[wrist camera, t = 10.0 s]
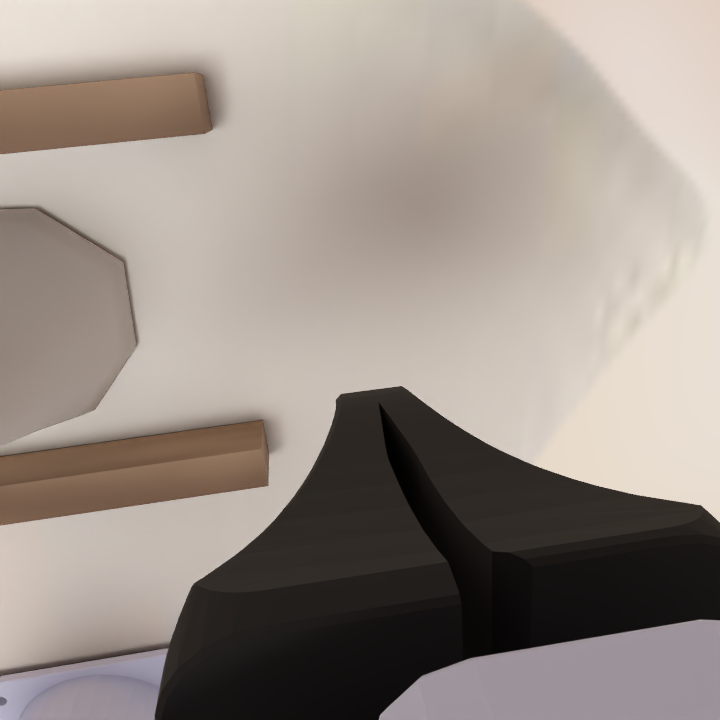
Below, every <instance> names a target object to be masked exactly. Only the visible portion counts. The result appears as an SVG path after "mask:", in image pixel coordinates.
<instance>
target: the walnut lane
mask: <svg viewBox="0 0 720 720" xmlns="http://www.w3.org/2000/svg"><path fill="white" fill-rule="evenodd" d="M211 130H212V126H211V121H210V115H209V109H208V103H207V98H206V92H205V86H204V80H203V75H201V74H197V73H184V74H173V75H162V76H151V77H140V78H129V79H119V80H108V81H97V82H86V83H75V84H64V85H54V86H43V87H32V88H21V89H10V90H0V154H7V153H17V152H27V151H37V150H47V149H57V148H67V147H77V146H87V145H97V144H107V143H117V142H127V141H136V140H146V139H156V138H166V137H176V136H186V135H196V134H205V133H207V132H209V131H211ZM268 475H269V453H268V447H267V442H266V436H265V430H264V424H263V420H261V421H254V422H247V423H240V424H232V425H225V426H218V427H211V428H204V429H196V430H189V431H182V432H175V433H168V434H160V435H153V436H146V437H139V438H132V439H124V440H117V441H110V442H103V443H96V444H88V445H81V446H74V447H67V448H60V449H52V450H45V451H38V452H31V453H24V454H16V455H9V456H2V457H0V525H6V524H13V523H20V522H27V521H34V520H40V519H47V518H54V517H61V516H67V515H74V514H81V513H88V512H94V511H101V510H108V509H115V508H122V507H128V506H135V505H142V504H149V503H155V502H162V501H169V500H176V499H183V498H189V497H196V496H203V495H210V494H216V493H223V492H230V491H237V490H244V489H250V488H257V487H264V486H268Z"/></svg>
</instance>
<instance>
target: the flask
mask: <svg viewBox="0 0 720 720" xmlns="http://www.w3.org/2000/svg"><path fill="white" fill-rule="evenodd" d="M135 347H136V340H135V334H134V327H133V321H132V315H131V308H130V302H129V296H128V289H127V283H126V277H125V270H124V264H123V262H122V261H121V260H119V259H117V258H116V257H114V256H112V255H111V254H109V253H108V252H106V251H104V250H103V249H101V248H99V247H98V246H96V245H94V244H93V243H91V242H90V241H88V240H86V239H85V238H83V237H81V236H80V235H78V234H76V233H75V232H73V231H72V230H70V229H68V228H67V227H65V226H63V225H62V224H60V223H58V222H57V221H55V220H53V219H52V218H50V217H49V216H47V215H45V214H44V213H42V212H40V211H39V210H37V209H35V208H31V209H0V446H2V445H4V444H7V443H9V442H11V441H14V440H16V439H19V438H21V437H23V436H26V435H28V434H30V433H33V432H35V431H38V430H40V429H43V428H46V427H49V426H52V425H55V424H58V423H60V422H63V421H66V420H69V419H72V418H75V417H78V416H80V415H83V414H85V413H88V412H90V411H93V410H95V409H96V407H97V405H98V404H99V402H100V401H101V399H102V398H103V396H104V395H105V393H106V392H107V390H108V389H109V387H110V386H111V384H112V383H113V381H114V379H115V378H116V376H117V375H118V373H119V372H120V370H121V369H122V367H123V366H124V364H125V363H126V361H127V360H128V358H129V357H130V355H131V353H132V352H133V350H134V349H135Z"/></svg>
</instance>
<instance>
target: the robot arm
mask: <svg viewBox="0 0 720 720" xmlns="http://www.w3.org/2000/svg"><path fill="white" fill-rule="evenodd" d="M0 720H720V523H719V522H718V521H717V520H716V519H715V518H714V517H713V516H712V515H711V514H710V513H709V512H708V511H706V510H705V509H704V508H703V507H702V506H701V505H694V504H688V503H682V502H676V501H669V500H663V499H657V498H651V497H644V496H639V495H633V494H628V493H625V492H620V491H616V490H612V489H608V488H603V487H599V486H595V485H592V484H588V483H585V482H581V481H578V480H574V479H571V478H568V477H565V476H562V475H559V474H556V473H553V472H550V471H548V470H545V469H542V468H539V467H537V466H534V465H532V464H529V463H527V462H524V461H522V460H520V459H518V458H516V457H513V456H511V455H509V454H507V453H504V452H502V451H500V450H498V449H496V448H494V447H492V446H490V445H488V444H487V443H485V442H483V441H481V440H480V439H478V438H476V437H474V436H473V435H471V434H469V433H467V432H466V431H464V430H463V429H461V428H459V427H458V426H456V425H455V424H453V423H452V422H450V421H449V420H447V419H446V418H444V417H443V416H441V415H440V414H439V413H437V412H436V411H434V410H433V409H432V408H430V407H429V406H428V405H426V404H425V403H424V402H422V401H421V400H420V399H418V398H417V397H416V396H414V395H413V394H412V393H411V392H409V391H408V390H407V389H405V388H404V387H402V386H399V387H392V388H384V389H376V390H369V391H361V392H353V393H346V394H341V395H340V396H339V397H338V398H337V399H336V411H335V416H334V419H333V422H332V426H331V428H330V431H329V434H328V436H327V439H326V441H325V444H324V446H323V448H322V450H321V452H320V454H319V456H318V458H317V460H316V462H315V464H314V466H313V468H312V470H311V471H310V473H309V475H308V476H307V478H306V480H305V481H304V483H303V484H302V486H301V487H300V489H299V490H298V491H297V493H296V494H295V496H294V497H293V498H292V500H291V501H290V502H289V503H288V505H287V506H286V507H285V508H284V509H283V511H282V512H281V513H280V514H279V516H278V517H277V518H276V519H275V520H274V521H273V522H272V523H271V524H270V526H269V527H267V528H266V529H265V530H264V531H263V532H262V533H261V534H260V535H259V536H258V537H257V538H256V539H254V540H253V541H252V542H251V543H250V544H249V545H247V546H246V547H245V548H244V549H243V550H241V551H240V552H239V553H238V554H236V555H235V556H234V557H232V558H231V559H229V560H228V561H227V562H225V563H224V564H222V565H221V566H219V567H218V568H217V569H215V570H214V571H212V572H211V573H209V574H208V575H207V576H205V577H204V578H202V579H200V580H199V581H197V582H196V583H194V584H193V586H192V587H191V590H190V592H189V594H188V597H187V599H186V601H185V604H184V606H183V609H182V611H181V614H180V616H179V619H178V622H177V625H176V628H175V631H174V633H173V636H172V639H171V642H170V645H169V648H166V649H160V650H154V651H148V652H142V653H136V654H130V655H124V656H118V657H112V658H106V659H100V660H94V661H88V662H82V663H76V664H70V665H64V666H58V667H52V668H46V669H40V670H34V671H28V672H22V673H16V674H10V675H4V676H0Z"/></svg>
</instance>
